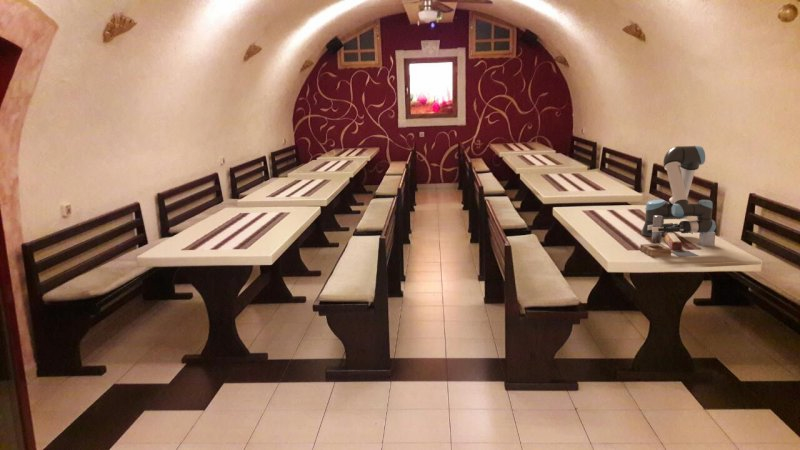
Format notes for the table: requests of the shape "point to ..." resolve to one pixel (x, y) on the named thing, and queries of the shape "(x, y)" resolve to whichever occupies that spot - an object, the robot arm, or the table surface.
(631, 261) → the table surface
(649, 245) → the socket block
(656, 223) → the pin
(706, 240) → the medicine box
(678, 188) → the robot arm
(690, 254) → the mat
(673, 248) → the snack package
